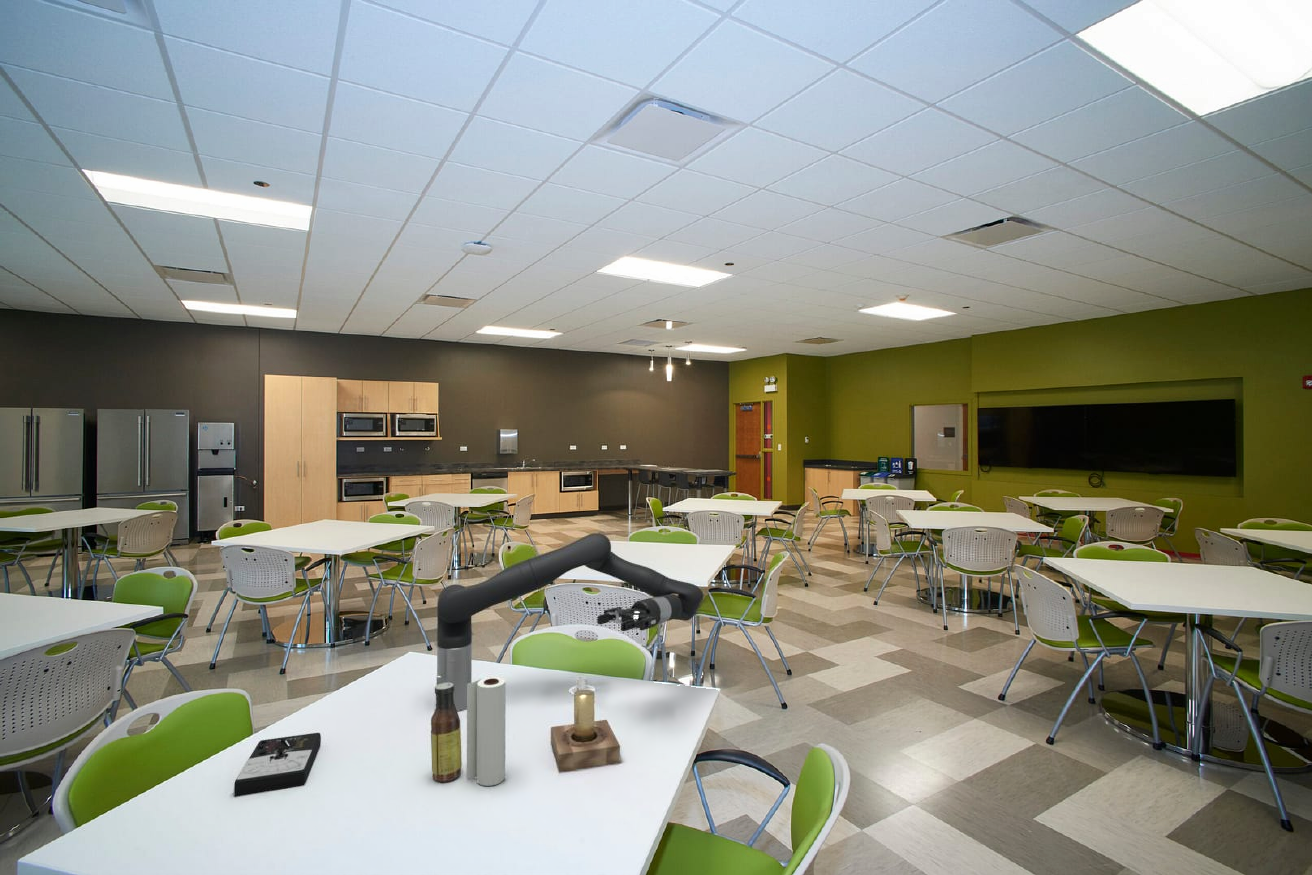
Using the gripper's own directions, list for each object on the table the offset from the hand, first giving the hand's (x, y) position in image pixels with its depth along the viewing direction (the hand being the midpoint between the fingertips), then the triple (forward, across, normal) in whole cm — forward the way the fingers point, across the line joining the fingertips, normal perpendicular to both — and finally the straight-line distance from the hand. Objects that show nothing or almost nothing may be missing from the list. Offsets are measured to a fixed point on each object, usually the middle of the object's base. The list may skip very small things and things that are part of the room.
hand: (609, 623), depth 157 cm
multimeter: (+60, -43, +30) cm, 80 cm away
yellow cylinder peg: (+11, +3, +28) cm, 30 cm away
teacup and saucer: (-11, -24, +28) cm, 39 cm away
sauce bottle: (+38, -12, +29) cm, 49 cm away
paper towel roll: (+32, -4, +28) cm, 43 cm away
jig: (+11, +3, +28) cm, 30 cm away
